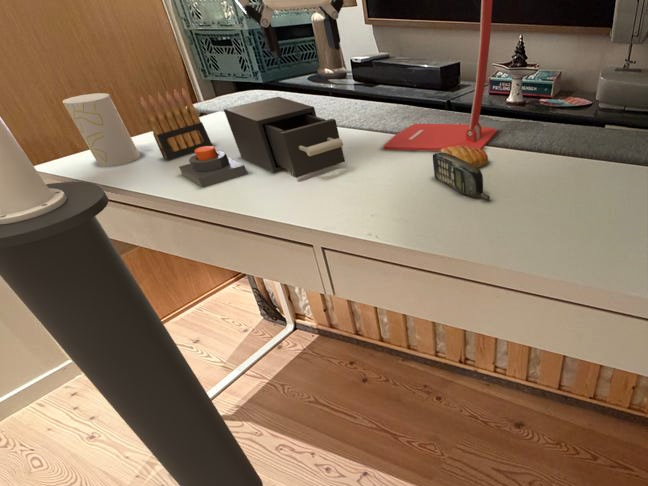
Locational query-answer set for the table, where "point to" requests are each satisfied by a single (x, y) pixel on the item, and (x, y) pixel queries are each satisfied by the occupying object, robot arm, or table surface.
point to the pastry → (468, 154)
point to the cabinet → (261, 127)
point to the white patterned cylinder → (102, 128)
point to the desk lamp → (455, 133)
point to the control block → (212, 169)
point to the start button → (206, 153)
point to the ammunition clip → (176, 126)
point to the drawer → (304, 143)
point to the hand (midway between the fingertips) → (306, 52)
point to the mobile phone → (459, 174)
